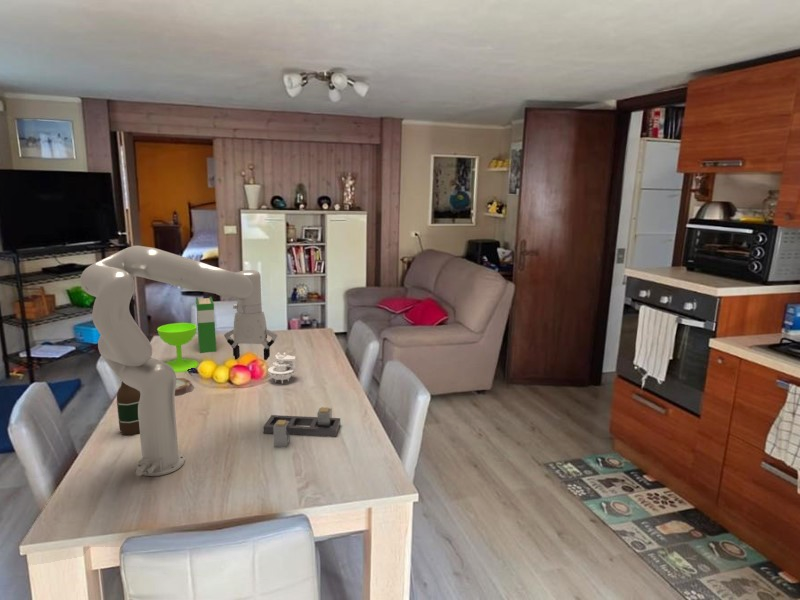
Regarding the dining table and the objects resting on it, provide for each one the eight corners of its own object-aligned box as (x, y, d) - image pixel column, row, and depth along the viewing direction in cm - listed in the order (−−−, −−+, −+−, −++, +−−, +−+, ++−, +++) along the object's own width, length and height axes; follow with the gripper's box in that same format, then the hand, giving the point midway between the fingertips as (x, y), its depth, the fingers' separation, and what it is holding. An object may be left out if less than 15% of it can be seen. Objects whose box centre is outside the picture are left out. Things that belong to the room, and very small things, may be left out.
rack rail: (340, 424, 179) (340, 418, 179) (335, 436, 170) (335, 430, 170) (271, 421, 180) (271, 415, 180) (263, 433, 172) (263, 426, 171)
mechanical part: (263, 383, 215) (262, 356, 212) (278, 374, 226) (278, 348, 223) (287, 387, 211) (286, 359, 209) (301, 377, 222) (301, 351, 220)
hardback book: (198, 343, 267) (195, 297, 262) (213, 341, 270) (211, 296, 265) (200, 353, 252) (197, 304, 247) (216, 351, 254) (213, 303, 249)
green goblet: (190, 373, 225) (187, 332, 221) (153, 372, 225) (150, 331, 221) (204, 361, 240) (202, 323, 237) (170, 360, 241) (167, 322, 237)
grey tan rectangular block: (329, 433, 173) (329, 411, 171) (317, 432, 173) (317, 411, 172) (331, 427, 177) (331, 406, 175) (320, 427, 177) (320, 406, 175)
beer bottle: (116, 437, 167) (109, 366, 162) (122, 426, 174) (116, 358, 169) (143, 434, 169) (137, 364, 164) (148, 424, 176) (142, 356, 171)
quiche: (179, 378, 221) (178, 369, 220) (213, 387, 211) (212, 378, 210) (133, 394, 203) (132, 384, 202) (168, 405, 193) (167, 395, 192)
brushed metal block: (286, 447, 163) (286, 425, 161) (273, 446, 163) (273, 424, 161) (289, 441, 167) (289, 419, 165) (277, 440, 167) (277, 418, 165)
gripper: (219, 310, 166) (221, 361, 169) (273, 311, 166) (274, 363, 169) (227, 305, 173) (229, 354, 177) (279, 306, 173) (280, 355, 177)
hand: (251, 358), depth 173 cm, fingers open, 9 cm apart
